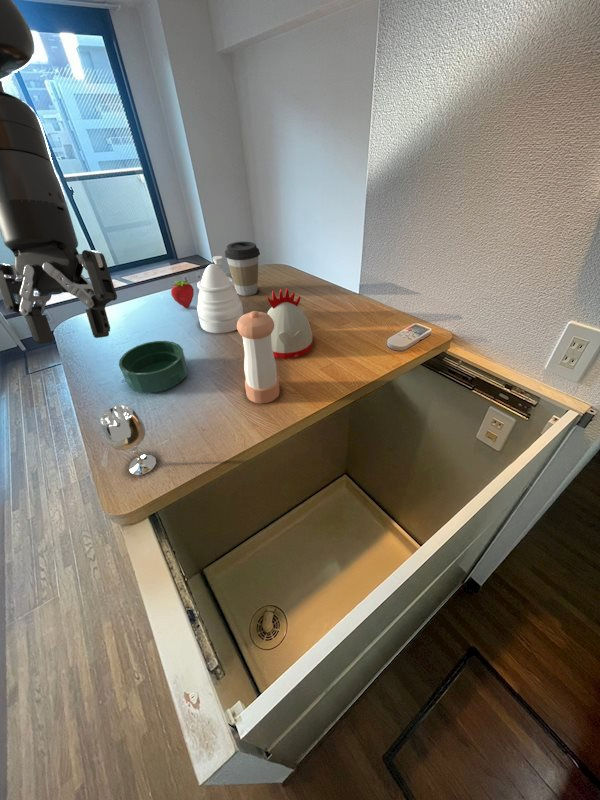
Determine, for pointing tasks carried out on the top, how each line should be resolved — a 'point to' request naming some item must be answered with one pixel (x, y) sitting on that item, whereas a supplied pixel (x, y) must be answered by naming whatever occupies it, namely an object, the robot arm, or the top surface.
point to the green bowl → (154, 366)
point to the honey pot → (218, 300)
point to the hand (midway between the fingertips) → (73, 340)
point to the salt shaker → (259, 357)
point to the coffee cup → (243, 266)
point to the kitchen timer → (289, 327)
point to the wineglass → (126, 435)
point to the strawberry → (182, 293)
